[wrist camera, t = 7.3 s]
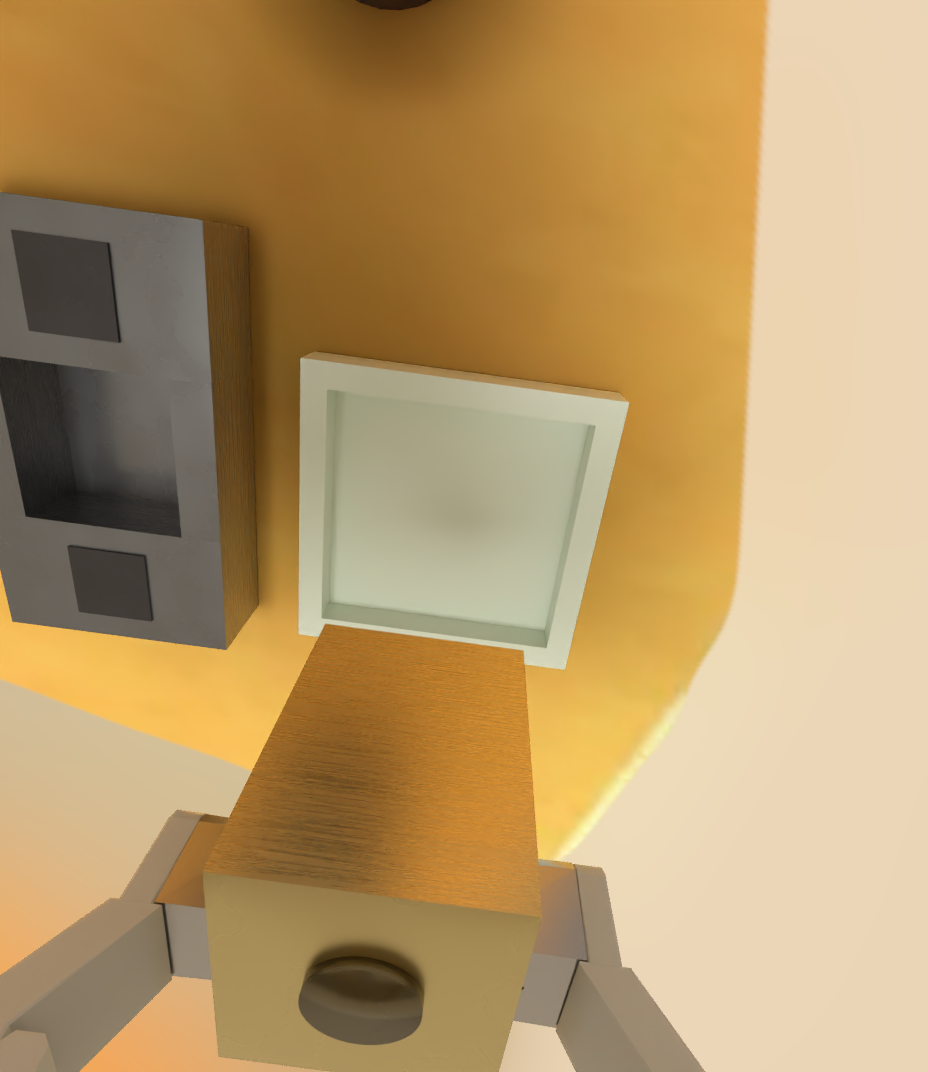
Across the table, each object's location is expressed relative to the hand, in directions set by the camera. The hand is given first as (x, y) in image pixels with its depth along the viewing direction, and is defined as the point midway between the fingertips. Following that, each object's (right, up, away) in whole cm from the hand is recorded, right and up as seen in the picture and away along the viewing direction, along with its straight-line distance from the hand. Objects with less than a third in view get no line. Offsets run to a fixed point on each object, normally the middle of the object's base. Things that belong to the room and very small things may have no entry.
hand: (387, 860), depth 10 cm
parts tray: (+1, +7, +15) cm, 16 cm away
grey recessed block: (-12, +10, +14) cm, 21 cm away
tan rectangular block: (0, +2, +4) cm, 4 cm away
